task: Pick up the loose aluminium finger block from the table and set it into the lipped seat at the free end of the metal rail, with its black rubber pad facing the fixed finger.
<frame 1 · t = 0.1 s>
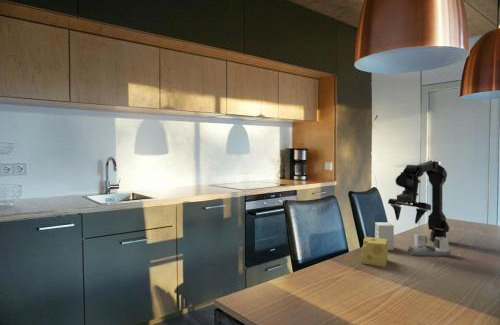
hand: (406, 221, 159), 15 cm above the table, tool pointing down, fingers open, 9 cm apart
supplement box: (383, 248, 168), on the table
rail: (428, 254, 158), on the table
cheese: (375, 262, 148), on the table
finger block: (419, 245, 172), on the table
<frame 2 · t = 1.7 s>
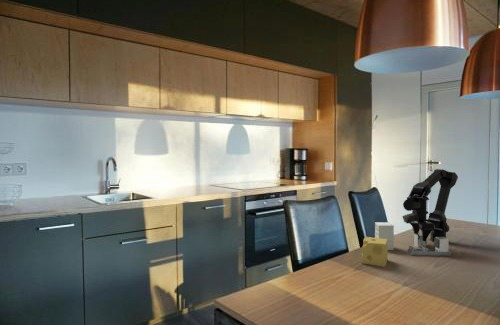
hand: (419, 238, 172), 4 cm above the table, tool pointing down, fingers open, 9 cm apart
nothing on the table moved.
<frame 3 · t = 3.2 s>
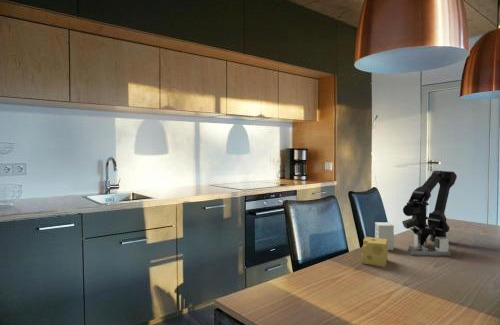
hand: (419, 243, 172), 1 cm above the table, tool pointing down, fingers closed on finger block, 4 cm apart
finger block: (419, 245, 172), on the table, touching gripper
everything else where it was.
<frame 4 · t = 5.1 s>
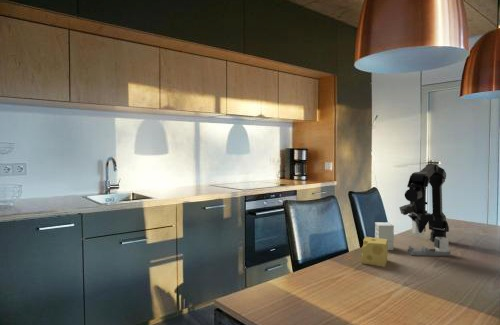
hand: (418, 231, 158), 11 cm above the table, tool pointing down, fingers closed on finger block, 4 cm apart
finger block: (418, 233, 158), point 10 cm above the table, touching gripper
everything else where it was.
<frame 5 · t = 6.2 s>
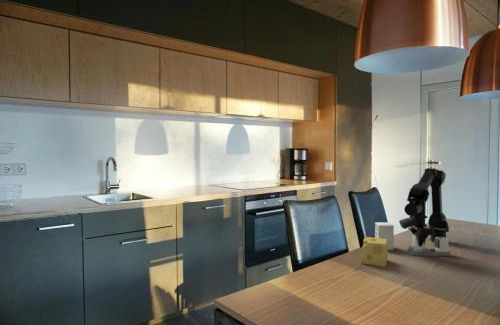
hand: (418, 245, 158), 4 cm above the table, tool pointing down, fingers closed on finger block, 4 cm apart
finger block: (417, 247, 158), point 3 cm above the table, touching gripper
everything else where it was.
when the fingers open (4 cm above the table, at t = 7.0 s): finger block stays where it is, resting on rail.
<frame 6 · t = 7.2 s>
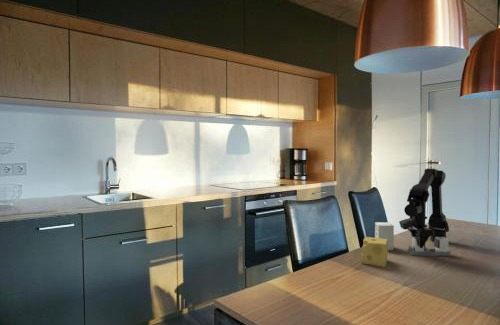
hand: (418, 245, 158), 4 cm above the table, tool pointing down, fingers open, 6 cm apart
finger block: (417, 249, 158), point 2 cm above the table, touching rail
everything else where it was.
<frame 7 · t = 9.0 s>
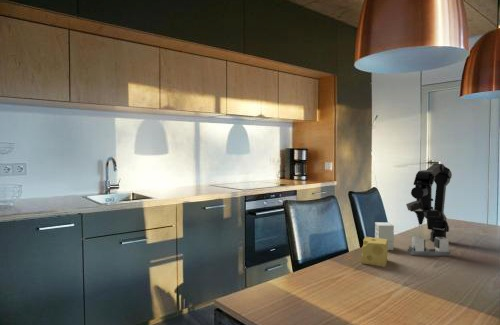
hand: (424, 226, 165), 11 cm above the table, tool pointing down, fingers open, 9 cm apart
nothing on the table moved.
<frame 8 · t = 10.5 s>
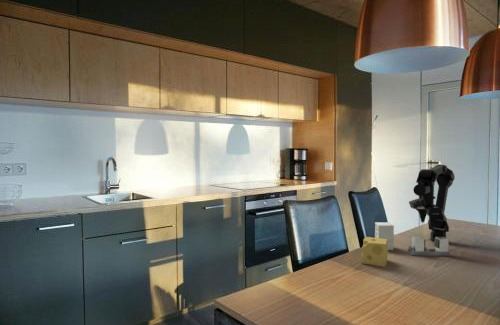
hand: (426, 224, 168), 12 cm above the table, tool pointing down, fingers open, 9 cm apart
nothing on the table moved.
at the end: finger block 0.1 cm from the target spot on the rail, point 2.0 cm above the rail's base; finger block tilted 0°; the gripper is holding nothing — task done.
